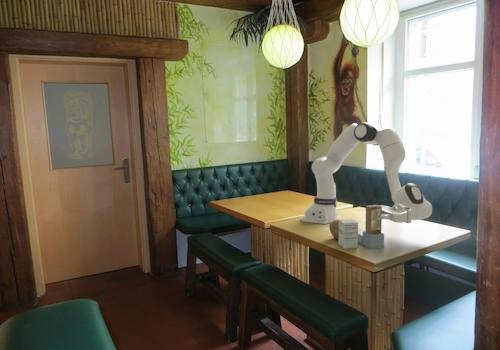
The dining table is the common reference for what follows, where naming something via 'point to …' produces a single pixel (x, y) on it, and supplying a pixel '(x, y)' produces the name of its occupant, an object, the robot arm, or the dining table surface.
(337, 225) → the natural sponge
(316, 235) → the dining table surface
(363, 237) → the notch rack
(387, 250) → the dining table surface
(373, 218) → the frame block
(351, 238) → the supplement box
